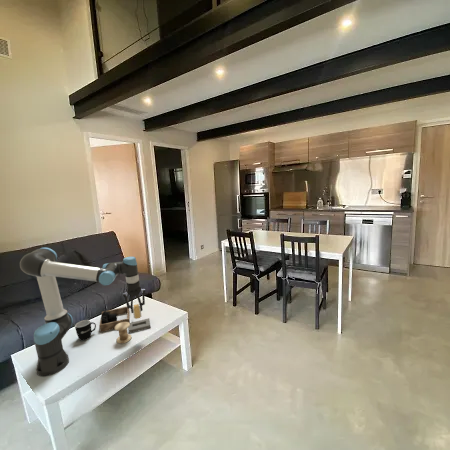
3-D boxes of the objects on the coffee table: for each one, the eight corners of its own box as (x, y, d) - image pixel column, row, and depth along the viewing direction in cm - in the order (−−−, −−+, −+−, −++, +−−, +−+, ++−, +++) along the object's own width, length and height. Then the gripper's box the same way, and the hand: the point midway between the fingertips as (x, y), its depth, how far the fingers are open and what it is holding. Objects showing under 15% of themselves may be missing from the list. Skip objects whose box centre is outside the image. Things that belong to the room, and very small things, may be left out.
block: (135, 316, 162) (133, 305, 160) (140, 315, 162) (138, 303, 161) (135, 318, 159) (133, 307, 157) (140, 317, 160) (138, 305, 158)
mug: (79, 343, 162) (77, 329, 160) (75, 338, 168) (73, 324, 166) (99, 334, 170) (97, 320, 168) (94, 330, 176) (92, 316, 174)
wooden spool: (116, 345, 157) (114, 331, 155) (116, 337, 165) (114, 323, 164) (131, 341, 160) (129, 327, 159) (131, 333, 168) (129, 320, 167)
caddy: (100, 332, 173) (99, 325, 172) (103, 317, 192) (102, 311, 191) (129, 325, 179) (128, 318, 178) (129, 311, 199) (128, 306, 198)
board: (129, 333, 169) (128, 330, 169) (129, 325, 179) (128, 323, 178) (150, 327, 174) (150, 325, 174) (149, 320, 183) (149, 318, 183)
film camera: (116, 327, 178) (114, 315, 177) (101, 330, 175) (99, 318, 173) (117, 317, 192) (116, 306, 191) (103, 320, 189) (101, 309, 188)
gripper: (118, 286, 151) (124, 322, 155) (146, 281, 156) (151, 316, 160) (119, 282, 158) (124, 316, 162) (145, 277, 163) (150, 310, 167)
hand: (137, 316), depth 161 cm, fingers closed on block, 3 cm apart
